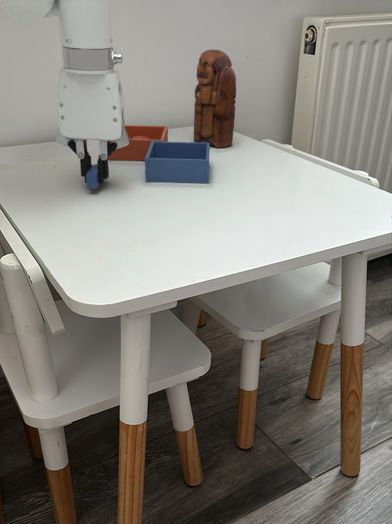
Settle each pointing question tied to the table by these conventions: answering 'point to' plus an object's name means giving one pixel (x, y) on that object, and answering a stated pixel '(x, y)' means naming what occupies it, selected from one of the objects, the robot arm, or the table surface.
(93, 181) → the blue curved block
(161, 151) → the blue bin
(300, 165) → the table surface
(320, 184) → the table surface
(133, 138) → the red curved block
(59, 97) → the robot arm
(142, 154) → the red bin
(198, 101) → the wooden figurine
